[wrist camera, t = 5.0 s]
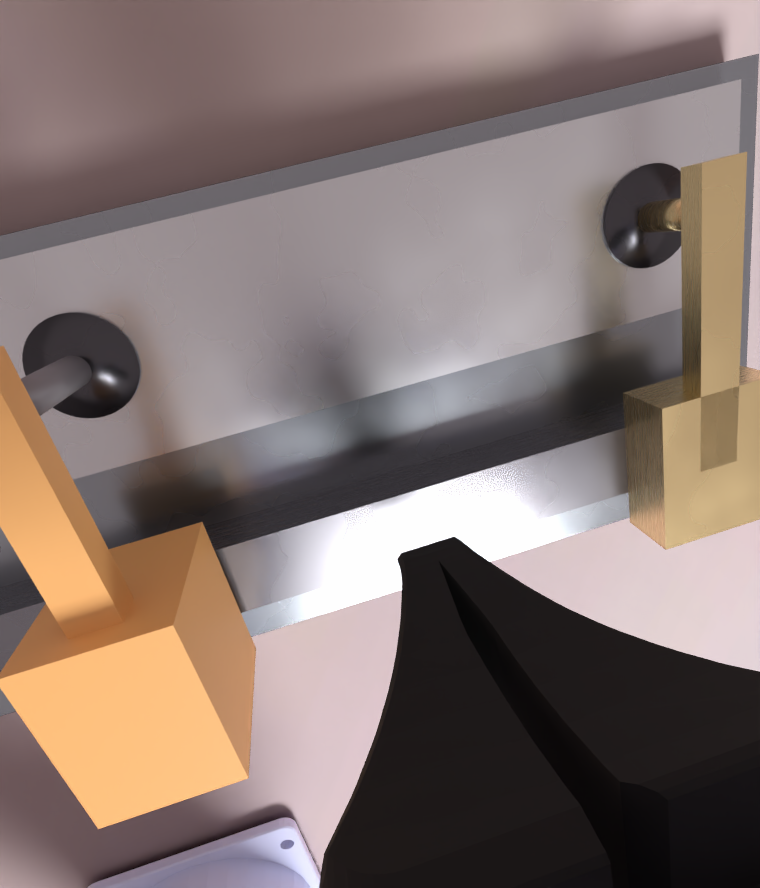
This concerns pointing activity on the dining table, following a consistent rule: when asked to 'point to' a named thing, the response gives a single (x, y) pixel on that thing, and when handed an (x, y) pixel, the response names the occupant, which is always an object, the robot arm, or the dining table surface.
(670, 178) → the board
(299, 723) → the dining table surface
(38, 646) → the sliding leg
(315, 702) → the dining table surface
